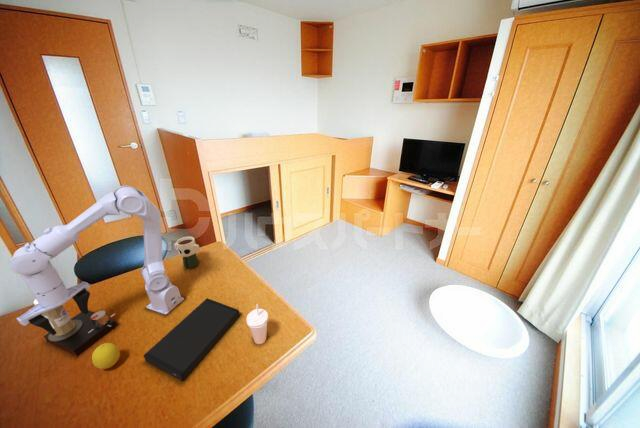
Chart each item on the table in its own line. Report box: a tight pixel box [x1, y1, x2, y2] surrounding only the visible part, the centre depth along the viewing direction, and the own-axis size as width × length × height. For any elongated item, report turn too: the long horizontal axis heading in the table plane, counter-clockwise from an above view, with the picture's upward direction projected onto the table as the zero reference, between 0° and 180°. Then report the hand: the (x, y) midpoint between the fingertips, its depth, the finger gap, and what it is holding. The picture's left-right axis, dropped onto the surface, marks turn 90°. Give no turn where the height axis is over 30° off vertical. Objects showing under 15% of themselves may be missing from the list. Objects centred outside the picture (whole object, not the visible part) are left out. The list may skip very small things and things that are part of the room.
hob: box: [43, 309, 118, 357], centre depth 76 cm, size 15×13×3 cm
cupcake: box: [91, 310, 110, 328], centre depth 75 cm, size 4×4×4 cm
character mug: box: [173, 236, 201, 269], centre depth 105 cm, size 11×7×13 cm, turn 86°
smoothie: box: [245, 303, 269, 345], centre depth 72 cm, size 6×6×14 cm
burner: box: [48, 320, 83, 342], centre depth 74 cm, size 8×8×1 cm
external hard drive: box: [143, 298, 240, 382], centre depth 74 cm, size 14×23×3 cm, turn 158°
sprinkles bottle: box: [33, 298, 75, 336], centre depth 71 cm, size 5×5×13 cm
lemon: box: [91, 342, 121, 370], centre depth 65 cm, size 6×6×8 cm
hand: (69, 322), depth 70 cm, fingers open, 7 cm apart
